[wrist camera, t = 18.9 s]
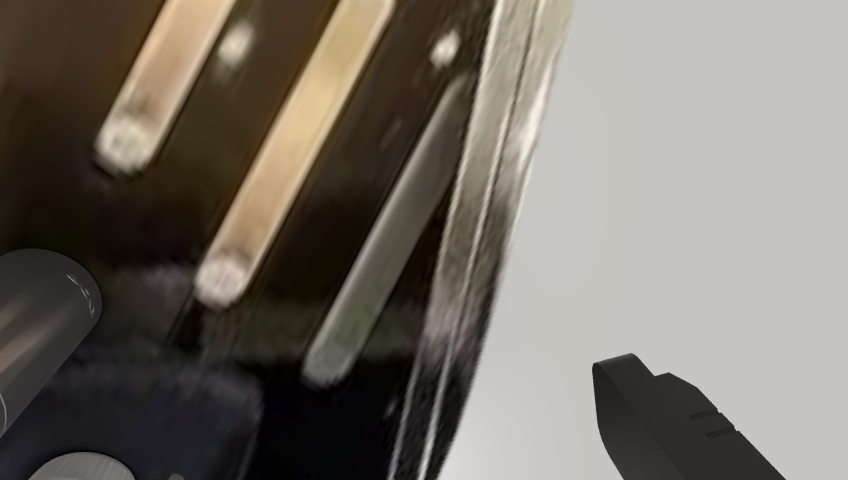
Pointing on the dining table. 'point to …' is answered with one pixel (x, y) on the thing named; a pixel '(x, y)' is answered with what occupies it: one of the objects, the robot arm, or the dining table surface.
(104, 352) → the dining table surface
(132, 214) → the dining table surface
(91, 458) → the ramekin
